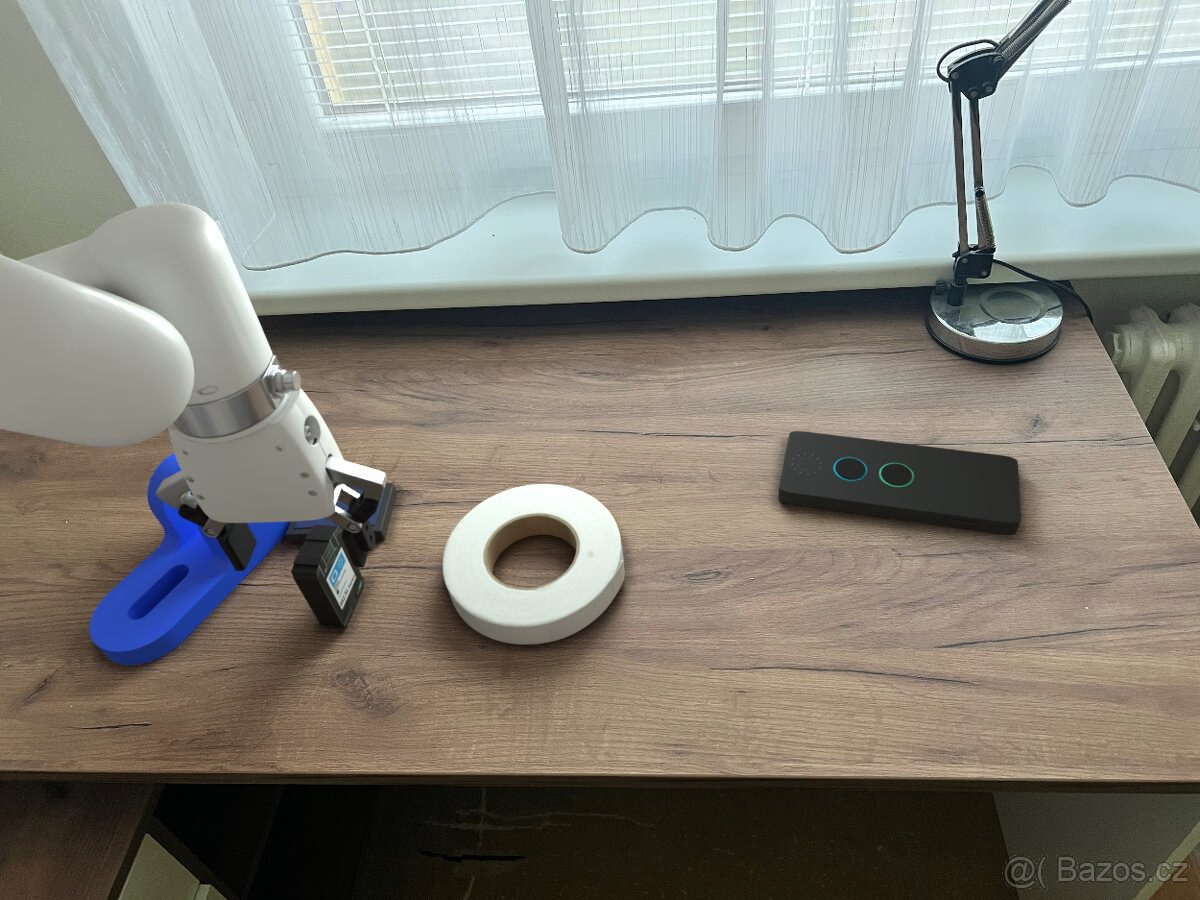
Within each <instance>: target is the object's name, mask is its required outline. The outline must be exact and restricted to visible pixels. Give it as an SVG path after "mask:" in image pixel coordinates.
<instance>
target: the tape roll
mask: <svg viewBox="0 0 1200 900" xmlns="http://www.w3.org/2000/svg"><path fill="white" fill-rule="evenodd" d="M531 536H532V537H533V536H553V537H557V538H559V539H561V540H563V541H565V542H567V543H568V544H569V545H571V547H572V548H573V549H574V550H575V555H574V558H573V560H572V562H571V564H570V566H569V567H568V568H567V569H566V570H565V571H564V572H563V573H562V574H561V575H560V576H558V577H557V578H555V579H554V580H553V581H550V582H548V583H546V584H543V585H538V586H533V587H516V586H512V585H509V584H506V583H504V582H502V581H501V580H499V579H498V578H497V577H496V576H495V575H494V574H493V573H494V567H495V564H496V562H497V560H498V558H499V556H500V555H501V554H502V553H503V552H504V551H505V549H507V548H508V547H510V546H511V545H512V544H514V543H515V542H517V541H520V540H521V539H525V538H528V537H531ZM621 537H622V536H621V533H620V530H619V527H618V524H617V522H616V520H615V518H614V516H613V515H612V513H611V512H610V510H609V509H608V508H606V506H605V505H604V504H602V503H601V502H600V501H599V500H597V499H596V498H595V497H594V496H592V495H590V494H588V493H586V492H584V491H581V490H579V489H576V488H574V487H570V486H566V485H561V484H552V483H551V484H550V483H535V484H534V483H533V484H527V485H521V486H517V487H512V488H510V489H506V490H504V491H501V492H499V493H497V494H494V495H491V496H490V497H488V498H486V499H485V500H483V501H481V502H480V503H479V504H476V506H474V507H473V508H472V509H470V510H469V511H468V512H467V513H466V514H465V515H464V516H463V517H462V518H461V520H460V521H459V522H458V523H457V524H456V526H455V527H454V528H453V529H452V531H451V533H450V534H449V537H448V539H447V541H446V544H445V547H444V551H443V556H442V575H443V576H442V577H443V580H444V583H445V587H446V589H447V591H448V595H449V597H450V599H451V602H452V604H453V606H454V608H455V611H456V612H457V613H458V615H459V616H460V617H461V619H462V620H463V621H464V622H465V623H466V624H467V625H468V626H469V627H470V628H472V630H474V631H476V632H477V633H478V634H480V635H482V636H485V637H487V638H489V639H492V640H494V641H497V642H501V643H505V644H511V645H540V644H547V643H552V642H556V641H559V640H563V639H565V638H567V637H570V636H572V635H574V634H576V633H578V632H580V631H582V630H583V629H585V628H586V627H588V626H589V625H590V624H592V623H593V622H594V621H596V620H597V619H598V618H599V617H600V616H601V615H602V614H603V613H604V612H605V611H606V610H607V609H608V608H609V606H610V605H611V603H612V602H613V600H614V599H615V597H616V596H617V594H618V593H619V591H620V589H621V587H622V586H623V583H624V581H625V575H626V574H625V573H626V572H625V571H626V567H625V558H624V552H623V545H622V538H621Z"/></svg>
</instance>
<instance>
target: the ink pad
mask: <svg viewBox="0 0 1200 900" xmlns="http://www.w3.org/2000/svg"><path fill="white" fill-rule="evenodd" d="M345 486H347V485H345ZM347 487H349V488H350V489H352V490H354V491H355V492H357V493H359V494H360V495H361V494H362V493H363V491H362V490H360V489H357V488H354V487H351V486H347ZM397 496H398V491H397V488H396V485H395V483H394V482H386V485H385V488H384V491H383V494H382V497H381V500H380V502H379V505H378V508H377V511H376V512H375V513H374V514H373V515H372V516H371V517H370V518H369V522H370V524H371V527H372V529H373V532H374V534H375V542H376V541H379V542H380V541H385V540H386V536H387V533H388V529H389V525H390V521H391V518H392V514H393V511H394V507H395V502H396V499H397ZM336 506H337V507H339V508H341V509H343V510H344V511H346V512H347V510H348V508H349V506H348V505H346V504H345V503H343V502H341V501H340V500H338V501H337V504H336ZM314 525H326V526H338V525H336V524H335V523H333V522H331V521H329V520H328V519H326V518H322V519H318V520H309V521H291V522H290V524H289V527H288V530H287V532H286V536H285V537H286V539H287V540H288V542H289V544H290V545H303V543H304V541H305V538H306V536H307V534H308V533H309V531H311V529H312V527H313V526H314ZM338 527H339V529H340V531H341V533H342V531H343V528H342V527H340V526H338Z"/></svg>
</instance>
